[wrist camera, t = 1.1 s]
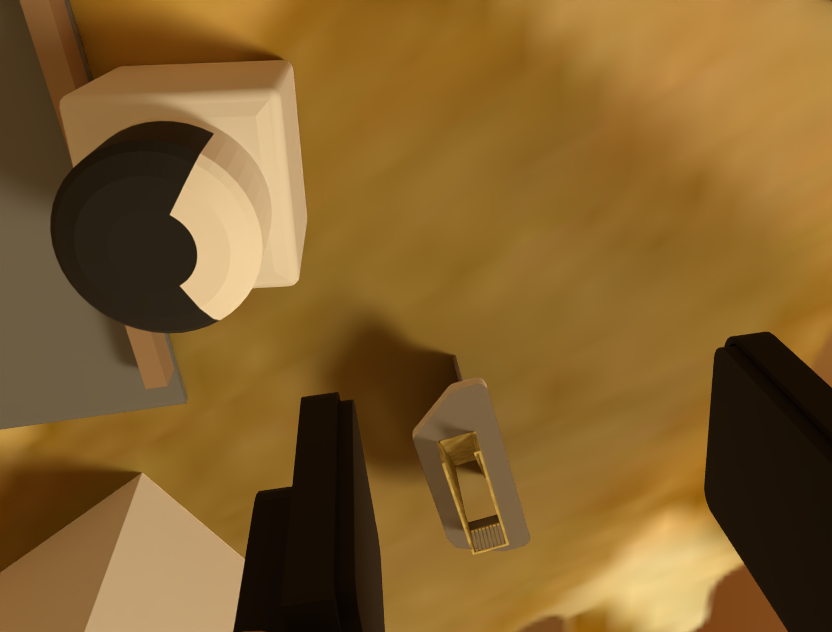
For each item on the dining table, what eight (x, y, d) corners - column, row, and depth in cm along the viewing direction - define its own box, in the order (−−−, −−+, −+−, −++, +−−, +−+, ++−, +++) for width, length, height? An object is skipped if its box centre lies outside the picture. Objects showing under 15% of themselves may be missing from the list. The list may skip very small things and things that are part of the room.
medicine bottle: (147, 232, 34) (53, 367, 23) (114, 65, 30) (-12, 131, 20) (308, 224, 34) (290, 353, 23) (293, 58, 31) (264, 119, 20)
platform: (396, 568, 44) (404, 663, 38) (288, 304, 36) (278, 373, 30) (594, 513, 44) (633, 601, 38) (530, 232, 36) (566, 288, 30)
